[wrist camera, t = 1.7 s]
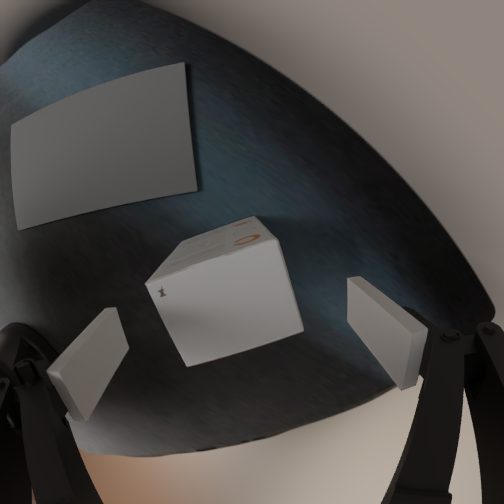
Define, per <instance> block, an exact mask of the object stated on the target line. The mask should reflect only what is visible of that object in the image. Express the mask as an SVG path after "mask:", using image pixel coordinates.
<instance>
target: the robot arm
mask: <svg viewBox="0 0 504 504" xmlns="http://www.w3.org/2000/svg"><path fill="white" fill-rule="evenodd" d="M347 289H348V308H347V322H348V323H349V325H350V326H351V327H352V328H353V330H354V331H355V332H356V333H357V335H358V336H359V337H360V338H361V340H362V341H363V342H364V343H365V345H366V346H367V347H368V349H369V350H370V351H371V352H372V354H373V355H374V356H375V357H376V359H377V360H378V361H379V363H380V364H381V365H382V366H383V368H384V369H385V370H386V372H387V373H388V374H389V376H390V377H391V378H392V379H393V381H394V382H395V383H396V385H397V386H398V387H399V389H400V390H401V391H402V390H404V389H407V388H410V387H412V386H415V385H416V383H417V380H418V376H419V374H420V375H421V376H422V377H423V379H424V380H423V384H422V387H421V391H420V394H419V397H418V398H419V401H418V404H417V408H416V412H415V415H414V419H413V422H412V426H411V429H410V432H409V435H408V438H407V442H406V445H405V447H404V450H403V453H402V456H401V458H400V461H399V464H398V466H397V469H396V471H395V473H394V476H393V478H392V481H391V483H390V485H389V487H388V490H387V492H386V494H385V496H384V498H383V500H382V502H381V504H451V501H452V494H451V493H449V492H448V489H449V484H450V480H451V476H452V472H453V468H454V463H455V458H456V452H457V447H458V441H459V434H460V426H461V417H462V407H463V392H464V389H465V393H466V397H467V401H468V405H469V409H470V414H471V418H472V423H473V428H474V433H475V438H476V444H477V451H478V458H479V466H480V475H481V489H482V504H504V332H503V330H502V329H501V327H500V326H498V325H496V324H495V323H493V322H492V323H491V322H483V323H480V324H478V325H477V327H476V331H475V334H474V335H468V336H463V335H462V333H460V332H459V331H458V330H455V329H451V328H442V329H439V328H438V327H436V326H435V325H434V324H432V323H431V322H430V321H428V320H427V319H425V318H424V317H423V316H422V315H420V314H419V313H418V312H416V311H415V310H414V309H411V308H408V307H400V306H399V305H398V304H396V303H395V302H394V301H392V300H391V299H390V298H388V297H387V296H386V295H384V294H383V293H382V292H381V291H379V290H378V289H377V288H375V287H374V286H373V285H371V284H370V283H369V282H367V281H366V280H365V279H363V278H362V277H361V276H356V277H350V278H347ZM128 350H129V346H128V343H127V340H126V337H125V334H124V331H123V328H122V325H121V322H120V319H119V316H118V312H117V309H116V307H114V308H105V309H104V310H103V311H102V312H101V313H100V314H99V315H98V316H97V317H96V318H95V319H94V320H93V321H92V322H91V323H90V324H89V325H88V326H87V327H86V328H85V329H84V330H83V331H82V333H81V334H80V335H79V336H78V337H77V338H76V339H75V340H74V341H73V342H72V343H71V344H70V345H69V346H68V347H67V349H66V350H64V351H63V352H61V354H60V355H59V356H58V354H57V353H56V352H55V350H54V349H53V348H52V347H51V346H50V345H49V343H48V342H47V341H46V340H45V339H44V338H42V337H41V336H40V335H39V334H38V333H37V332H35V331H34V330H32V329H31V328H29V327H27V326H25V325H23V324H19V323H11V324H8V325H7V326H5V327H4V328H3V329H1V330H0V504H32V489H33V493H34V496H35V500H36V504H103V502H102V500H101V498H100V496H99V495H98V493H97V491H96V489H95V487H94V484H93V482H92V480H91V478H90V476H89V474H88V472H87V469H86V467H85V465H84V462H83V460H82V458H81V455H80V453H79V450H78V447H77V445H76V442H75V439H74V437H73V434H72V431H71V428H70V425H69V422H68V420H67V419H66V417H65V415H66V413H67V412H69V413H70V415H71V416H72V418H73V420H75V421H81V422H88V420H89V418H90V416H91V414H92V412H93V410H94V409H95V407H96V405H97V403H98V401H99V400H100V398H101V396H102V394H103V392H104V391H105V389H106V387H107V385H108V384H109V382H110V380H111V378H112V377H113V375H114V373H115V371H116V370H117V368H118V366H119V365H120V363H121V361H122V360H123V358H124V356H125V355H126V353H127V351H128Z"/></svg>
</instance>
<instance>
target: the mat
mask: <svg viewBox="0 0 504 504" xmlns="http://www.w3.org/2000/svg"><path fill="white" fill-rule="evenodd" d="M11 174H12V188H13V199H14V207H15V215H16V222H17V228H18V231H20V230H23V229H26V228H30V227H33V226H37V225H40V224H44V223H48V222H51V221H55V220H59V219H63V218H67V217H71V216H75V215H79V214H83V213H87V212H91V211H96V210H100V209H105V208H109V207H114V206H118V205H123V204H128V203H133V202H138V201H143V200H148V199H154V198H159V197H165V196H170V195H176V194H182V193H188V192H194V191H198V186H197V178H196V170H195V162H194V153H193V145H192V136H191V126H190V116H189V106H188V95H187V83H186V70H185V63H184V62H183V63H178V64H173V65H168V66H163V67H159V68H155V69H151V70H147V71H143V72H139V73H135V74H132V75H128V76H125V77H122V78H118V79H115V80H112V81H109V82H106V83H103V84H100V85H97V86H95V87H92V88H89V89H86V90H84V91H81V92H79V93H76V94H74V95H71V96H69V97H67V98H64V99H62V100H60V101H57V102H55V103H53V104H51V105H49V106H47V107H45V108H43V109H41V110H39V111H37V112H35V113H33V114H31V115H29V116H27V117H25V118H23V119H21V120H20V121H18V122H16V123H14V124H13V125H11Z"/></svg>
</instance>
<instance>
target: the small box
mask: <svg viewBox="0 0 504 504" xmlns="http://www.w3.org/2000/svg"><path fill="white" fill-rule="evenodd" d="M145 285H146V287H147V289H148V291H149V293H150V295H151V298H152V300H153V302H154V304H155V306H156V308H157V310H158V312H159V314H160V316H161V318H162V320H163V322H164V324H165V326H166V328H167V330H168V332H169V334H170V336H171V338H172V340H173V342H174V344H175V346H176V348H177V349H178V351H179V353H180V355H181V357H182V359H183V360H184V362H185V364H186V366H187V367H191V366H194V365H198V364H202V363H206V362H209V361H213V360H216V359H220V358H224V357H227V356H230V355H234V354H237V353H240V352H244V351H247V350H250V349H253V348H257V347H260V346H263V345H265V344H269V343H272V342H274V341H277V340H280V339H283V338H286V337H289V336H292V335H295V334H298V333H300V332H303V331H304V327H303V323H302V320H301V316H300V312H299V309H298V305H297V302H296V298H295V295H294V291H293V288H292V284H291V281H290V277H289V274H288V270H287V267H286V263H285V260H284V256H283V253H282V250H281V246H280V243H279V240H278V239H277V238H276V237H275V236H274V235H273V234H272V233H271V232H270V231H269V230H268V229H267V228H266V227H265V226H264V225H263V224H262V223H261V222H260V220H259V219H258V218H256V217H255V216H252V217H248V218H245V219H242V220H239V221H236V222H233V223H231V224H228V225H225V226H222V227H219V228H216V229H214V230H211V231H208V232H205V233H202V234H200V235H197V236H194V237H192V238H189V239H187V240H184V241H182V242H181V243H180V244H179V245H178V246H177V247H176V249H175V250H174V251H173V252H172V253H171V254H170V255H169V257H168V258H167V259H166V260H165V261H164V262H163V263H162V264H161V265H160V267H159V268H158V269H157V270H156V271H155V272H154V274H153V275H152V276H151V277H150V278H149V279H148V281H147V282H146V283H145Z"/></svg>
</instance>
